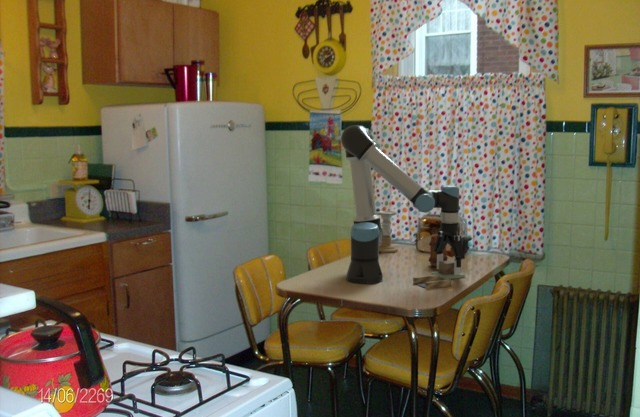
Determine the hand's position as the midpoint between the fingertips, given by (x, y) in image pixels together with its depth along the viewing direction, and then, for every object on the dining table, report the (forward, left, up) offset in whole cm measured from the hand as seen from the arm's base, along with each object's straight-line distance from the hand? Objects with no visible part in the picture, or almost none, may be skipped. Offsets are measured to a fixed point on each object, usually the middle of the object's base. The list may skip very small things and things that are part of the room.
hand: (448, 271), depth 279 cm
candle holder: (+4, +60, -2) cm, 60 cm away
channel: (-15, -10, -2) cm, 18 cm away
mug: (+10, +18, -2) cm, 21 cm away
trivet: (0, 0, -2) cm, 2 cm away
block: (0, 0, -1) cm, 1 cm away
